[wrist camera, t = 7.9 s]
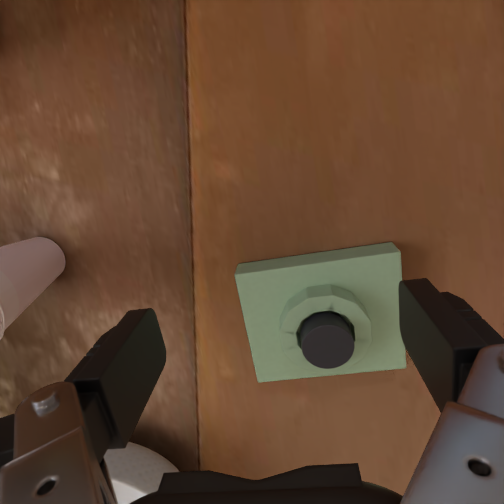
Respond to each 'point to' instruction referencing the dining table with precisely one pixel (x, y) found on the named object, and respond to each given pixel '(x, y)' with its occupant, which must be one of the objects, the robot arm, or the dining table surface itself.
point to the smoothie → (26, 275)
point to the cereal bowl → (135, 471)
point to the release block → (323, 308)
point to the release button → (326, 340)
